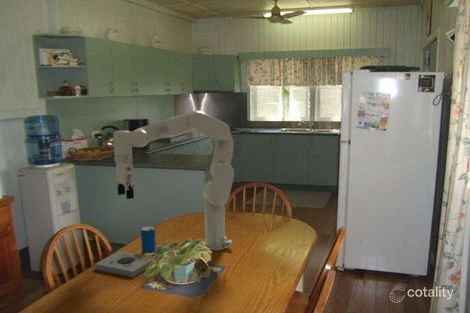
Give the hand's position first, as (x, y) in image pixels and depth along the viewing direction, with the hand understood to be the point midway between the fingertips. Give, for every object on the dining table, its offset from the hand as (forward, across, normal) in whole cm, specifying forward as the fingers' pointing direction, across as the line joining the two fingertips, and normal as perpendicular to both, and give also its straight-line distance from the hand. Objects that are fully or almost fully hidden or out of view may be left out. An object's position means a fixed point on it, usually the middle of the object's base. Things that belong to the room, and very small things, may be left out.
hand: (125, 196), depth 189 cm
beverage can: (+28, -3, -8) cm, 29 cm away
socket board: (+28, -11, +6) cm, 30 cm away
